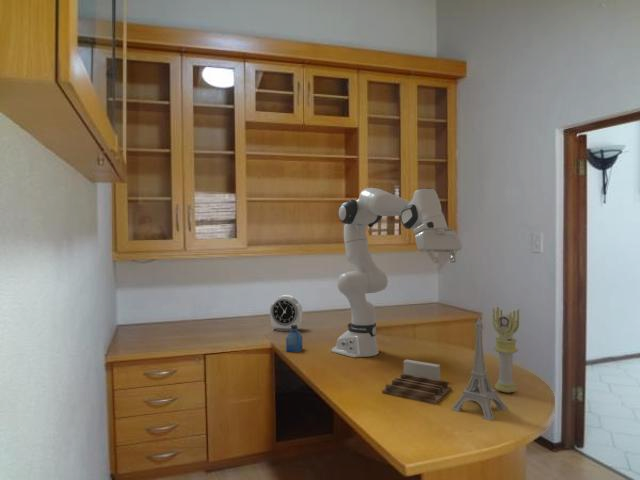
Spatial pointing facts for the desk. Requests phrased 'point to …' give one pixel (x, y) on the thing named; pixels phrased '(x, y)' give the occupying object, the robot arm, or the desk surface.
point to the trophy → (505, 348)
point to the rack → (418, 388)
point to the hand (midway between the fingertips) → (445, 262)
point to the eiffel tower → (480, 382)
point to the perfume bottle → (294, 340)
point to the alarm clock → (285, 313)
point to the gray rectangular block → (421, 369)
